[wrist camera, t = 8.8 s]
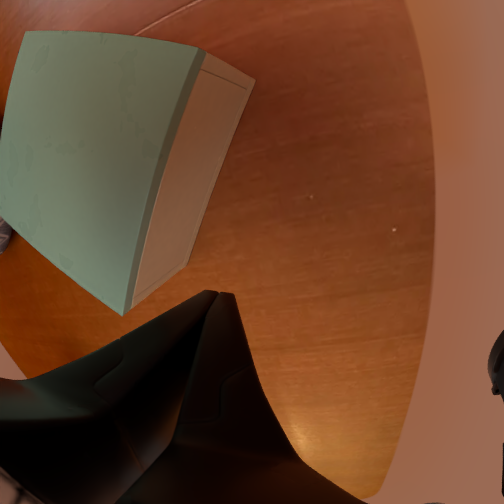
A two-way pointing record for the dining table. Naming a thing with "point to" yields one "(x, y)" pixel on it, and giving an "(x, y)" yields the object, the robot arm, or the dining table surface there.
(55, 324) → the dining table surface
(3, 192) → the lid
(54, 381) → the robot arm
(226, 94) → the cream square box
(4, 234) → the planter
